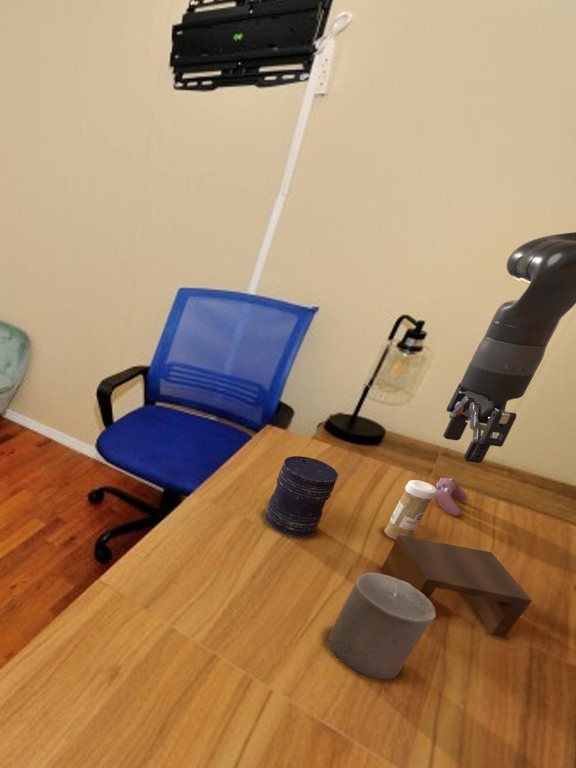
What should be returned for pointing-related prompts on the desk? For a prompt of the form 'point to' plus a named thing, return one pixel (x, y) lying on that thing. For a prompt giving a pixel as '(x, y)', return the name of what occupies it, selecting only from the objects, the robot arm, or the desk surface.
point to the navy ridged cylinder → (300, 496)
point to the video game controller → (449, 495)
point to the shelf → (460, 578)
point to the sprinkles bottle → (410, 509)
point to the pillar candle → (380, 625)
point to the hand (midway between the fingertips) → (460, 449)
